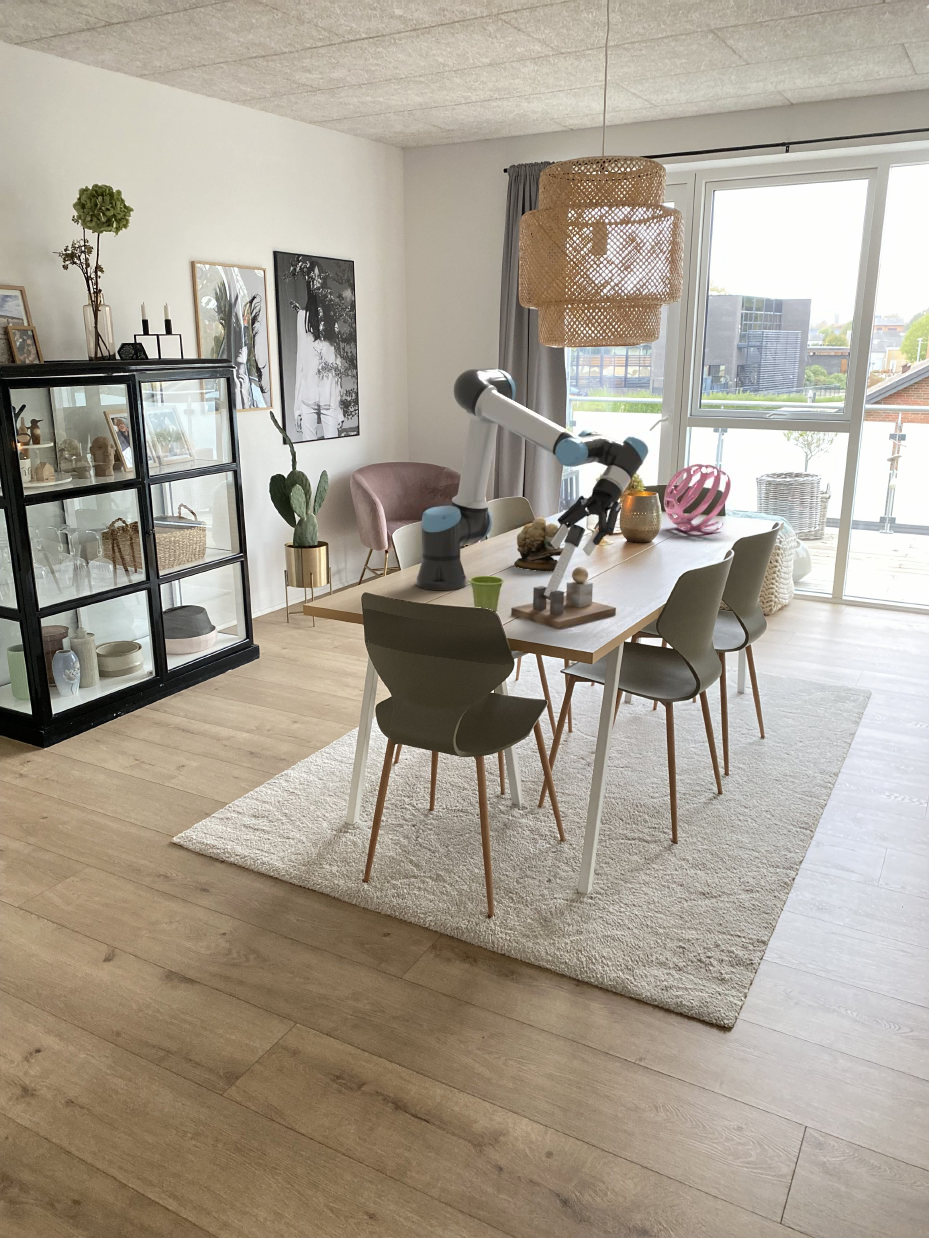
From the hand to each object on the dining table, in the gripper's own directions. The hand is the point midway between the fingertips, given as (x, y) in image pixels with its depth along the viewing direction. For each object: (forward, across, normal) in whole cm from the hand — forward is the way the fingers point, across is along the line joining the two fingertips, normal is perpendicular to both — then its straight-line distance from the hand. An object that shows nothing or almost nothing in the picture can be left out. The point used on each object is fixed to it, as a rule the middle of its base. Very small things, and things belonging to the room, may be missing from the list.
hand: (569, 549), depth 252 cm
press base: (+14, 0, -12) cm, 18 cm away
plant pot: (+23, +17, -3) cm, 29 cm away
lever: (+14, 0, -3) cm, 14 cm away
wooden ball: (+4, 0, -10) cm, 11 cm away
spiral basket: (-79, +55, -104) cm, 142 cm away
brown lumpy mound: (-12, +47, -38) cm, 62 cm away
